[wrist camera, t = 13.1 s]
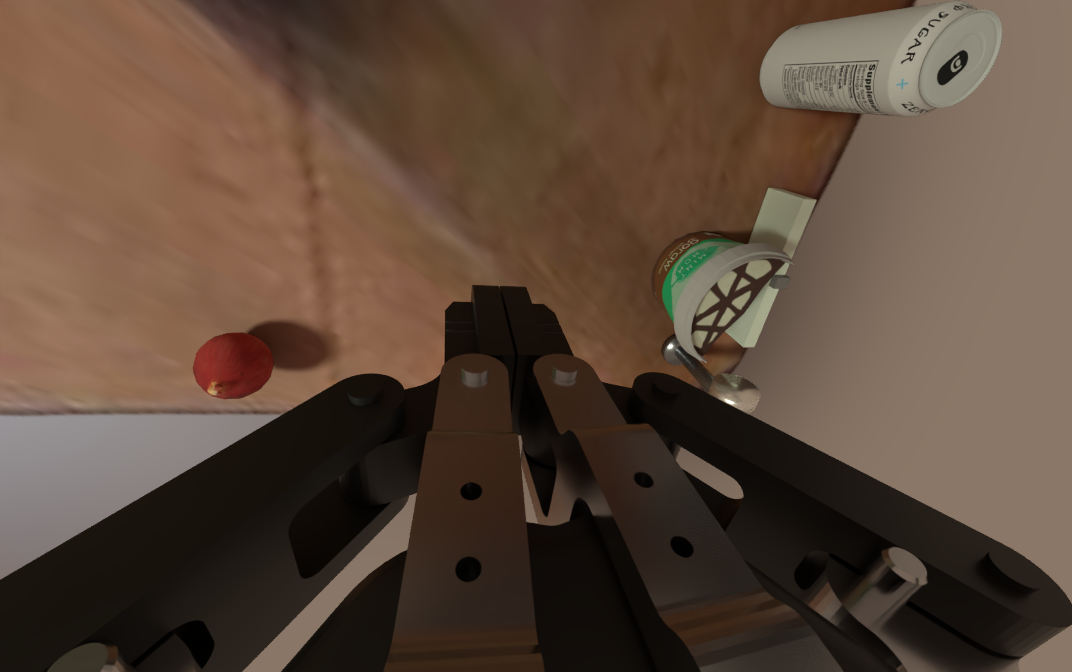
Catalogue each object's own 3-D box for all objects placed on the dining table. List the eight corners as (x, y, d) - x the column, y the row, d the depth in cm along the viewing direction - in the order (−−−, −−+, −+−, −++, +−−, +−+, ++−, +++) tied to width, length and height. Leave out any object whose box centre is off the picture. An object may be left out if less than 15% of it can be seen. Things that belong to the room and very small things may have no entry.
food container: (693, 194, 42) (756, 223, 33) (732, 225, 44) (800, 259, 36) (618, 295, 46) (657, 342, 37) (657, 317, 48) (702, 367, 40)
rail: (768, 187, 43) (810, 201, 38) (780, 188, 43) (823, 201, 38) (718, 325, 51) (747, 351, 46) (728, 325, 51) (758, 351, 46)
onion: (289, 368, 43) (260, 420, 36) (225, 368, 42) (183, 423, 35) (278, 317, 40) (245, 365, 33) (209, 316, 39) (160, 366, 32)
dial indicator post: (665, 330, 50) (729, 402, 38) (698, 330, 50) (770, 400, 39) (656, 360, 52) (714, 437, 41) (688, 360, 53) (754, 434, 41)
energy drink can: (827, 69, 38) (1019, 62, 25) (771, 122, 39) (925, 141, 27) (801, 7, 35) (1004, -35, 22) (742, 67, 36) (900, 59, 24)
